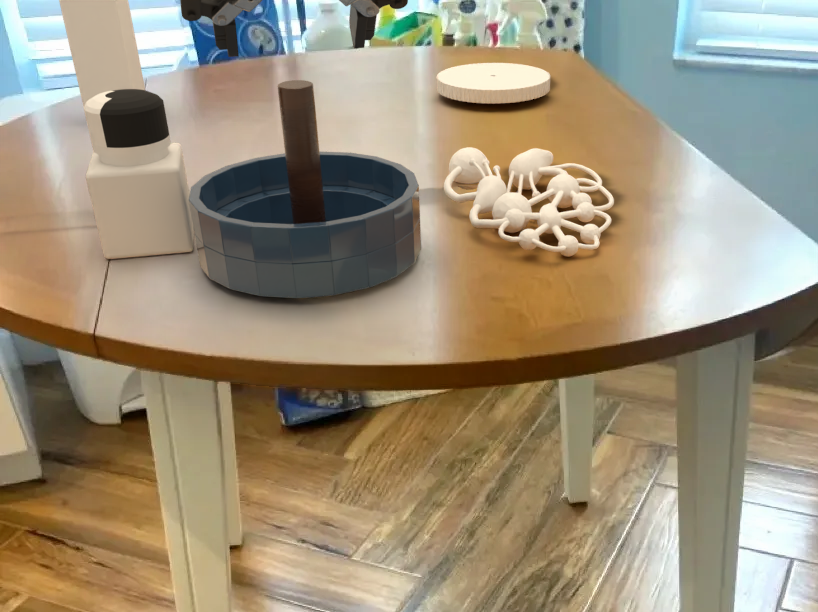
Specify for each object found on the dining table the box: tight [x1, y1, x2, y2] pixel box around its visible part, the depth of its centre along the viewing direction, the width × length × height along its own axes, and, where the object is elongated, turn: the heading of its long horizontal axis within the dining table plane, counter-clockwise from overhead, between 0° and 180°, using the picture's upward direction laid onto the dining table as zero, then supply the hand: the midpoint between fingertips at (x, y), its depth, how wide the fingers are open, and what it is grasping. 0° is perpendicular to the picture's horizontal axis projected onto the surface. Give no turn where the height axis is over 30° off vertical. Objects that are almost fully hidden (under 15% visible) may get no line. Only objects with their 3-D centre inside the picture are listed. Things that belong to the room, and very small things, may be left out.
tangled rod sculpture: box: [443, 146, 615, 258], centre depth 84 cm, size 19×14×4 cm
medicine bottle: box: [83, 89, 195, 260], centre depth 78 cm, size 7×7×12 cm
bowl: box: [189, 150, 422, 299], centre depth 76 cm, size 18×18×6 cm
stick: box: [276, 79, 326, 224], centre depth 74 cm, size 4×4×13 cm
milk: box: [58, 0, 146, 108], centre depth 107 cm, size 6×6×22 cm
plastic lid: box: [436, 62, 551, 105], centre depth 119 cm, size 14×14×2 cm
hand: (294, 41), depth 66 cm, fingers open, 8 cm apart
